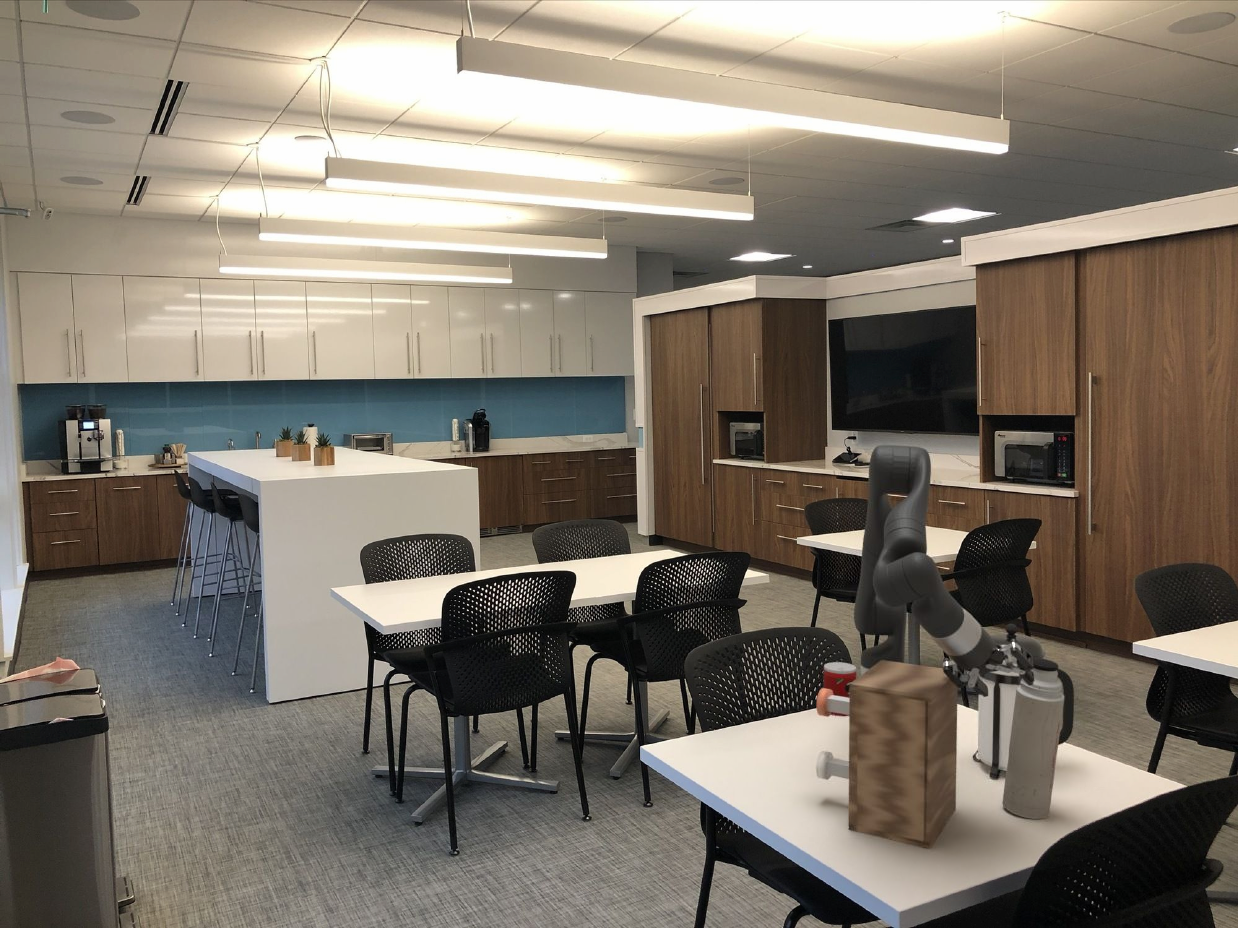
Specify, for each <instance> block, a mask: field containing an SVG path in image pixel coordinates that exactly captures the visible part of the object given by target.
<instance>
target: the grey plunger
mask: <svg viewBox="0 0 1238 928" xmlns="http://www.w3.org/2000/svg"><path fill="white" fill-rule="evenodd" d="M815 771H816V772H815V773H816V776H817V778H818V779H822V780H827V781H828V780H829V779H830V778H831V777H832V776H833V777H838V778H841V779H847V780H849V760H845V759H840V758H835V757H834V756H833V753H832V752H830V751H825V750H821V751H820V752H819V754H818V756H817V759H816V765H815Z"/></svg>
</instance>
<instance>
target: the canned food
mask: <svg viewBox="0 0 1238 928" xmlns="http://www.w3.org/2000/svg"><path fill="white" fill-rule="evenodd" d="M855 679H857V667H856V665H853V664H852V663H849V662H848V663H847V662H841V661H839V662H838V661H835V662H834V661H833V662H828V663H825V664H824V665H823V688H825V689H831V690H832V691H833V695H835V696H841V697H847V698H849V695H850V683H851V682H853V681H854V680H855ZM830 715H831V716H832V715H833V716H836V715H837V716H836V717H849V715H846V714H841V713H835V712H831V714H830Z"/></svg>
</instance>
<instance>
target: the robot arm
mask: <svg viewBox="0 0 1238 928" xmlns="http://www.w3.org/2000/svg"><path fill="white" fill-rule="evenodd" d="M871 452H872V453H871V455H870V458H869V459H870V460H869V466H868V485H867V486H868V489H867V492H868V493H867V512H866V519H865V527H864V533H863V538H862V547H861V548H862V549H861V567H860V576H859V577H860V578H859V582H858V587H857V592H856V596H855V602H854V609H853V622H854V626H855V628H856V630H857V632H858V633H860V634H863V635H867V636H888V637H887V638H886V639H885V640H884V641H882V642H881V643H880V644H877V645H874V646H871V647H868V648H865V649H863V651H862V652H861V653H860V654H861V655H860V676H861V675H862V674H864V673H865V672H866V671H868V670H869V669H870V668H872V667H873V666H874V665H876V664H877V663H878V662H880V661H881V660H885V661H893V662H900V663H905V653H906V652H905V649H906V648H905V647H906V646H905V645H906V644H905V643H906V642H905V641H906V629H907V615H908V613H907V610H908V608H907V604H909V603H912V604H911V609H910V610H911V615H912V616H913V619H914V620H915V621H916V622H917V623H918V624H919V625H920V626H921V627H922V628H923V629H924V630H925V631H926V632H927V633H928V634H929V636H930V637H931V638H932V640H933V641H934V643H936V645H937V646H938V647H939V648H940V649H941V650H942V651H943V653H945V654H946V656H948V658H947V657H944V658H942V668H943V672H944V673H945V674H946V675H947V677H948V678H949V679H950V680H951V681H952V682H953V683H954V684H955V685H956V686H957V687H958V689H963V688H964V686H967V687H968V688H971V689H973V691H975V693H977V694H978V696H979V695H982V696H983V697H987V696H988V687H987V685H986V684H985V683H984V682H983V681H982V680H981V679H980V678H979V675H978V674H982V675H984V674H987V673H989V672H995V671H1003V672H1006V673H1010V672H1014V673H1017V674H1019V676H1020V677H1021V678H1022V679H1023V680H1024V681H1025V682H1026V683H1027V684H1028V685H1029V686H1030V685H1033V682H1034V673H1033V672H1032V669H1033V668H1034V667H1033V657H1032V655H1031V654H1030V653H1029V652H1028V651H1027V650H1026V649H1025V648H1024V647H1023V646H1022V645H1021V644H1020V643H1019V642H1018V641H1017V640H1016V639H1011V640H1010V644H1008V645H1005V646H1001V645H998V644H996V643H995V642H994V640H993V639H992V637H991V636H990V635H991V634H989V632H988V631H987V630H986V629H985V628H984V627H983V626H982V625H981V624H980V623H979V622H978V621H977V619H975V617H973V615H972V614H971V613H969V612H968V611H967V610H966V609H965V608H963V606H962V605H960V603H958V601H957V600H956V598H954V597H953V596H952V595H951V593H950V592H949V590H948V589H947V587H946V585H945V583H944V581H943V579H942V576H941V573H940V571H939V568H938V566H937V564H936V562H935V560H934V559H933V558H932V557H931V556H929V555H928V554H927V552H928V543H927V542H928V541H927V529H926V528H927V527H926V526H927V525H926V524H927V514H928V507H929V501H930V492H931V491H930V488H931V476H932V462H931V456H930V454H929V452H928V450H927V449H925V448H924V447H920V446H913V445H911V446H909V445H897V444H895V445H894V444H880V445H877V446H876V447H875V448H874V449H873V450H872V451H871ZM887 494H890V495H902V496H905V495H907V496H906V497H905V498H904V499H902V500H901V501H900V502H899V503H898V504H897V505H896V506H895V507H893V505H892V504H891V502H890V500H889V497H888V495H887ZM1003 659H1004V660H1005V665H1003V664H1002V663H1003ZM1013 663H1015V664H1017V666H1014V665H1013ZM960 670H963V671H966V673H967V674H963V673H962V671H960Z"/></svg>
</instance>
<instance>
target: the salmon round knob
mask: <svg viewBox="0 0 1238 928" xmlns="http://www.w3.org/2000/svg"><path fill="white" fill-rule="evenodd" d="M816 711H817V714H818V715H819V716H822V717H830V716H831V715H832V714H831V712H835V713H841V714H846V715H849V698H847V697H841V696H835V695H833V691H832V690H831V689H825V688H824V687H822V688H820V690H819V692H818V694H817V697H816Z"/></svg>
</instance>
